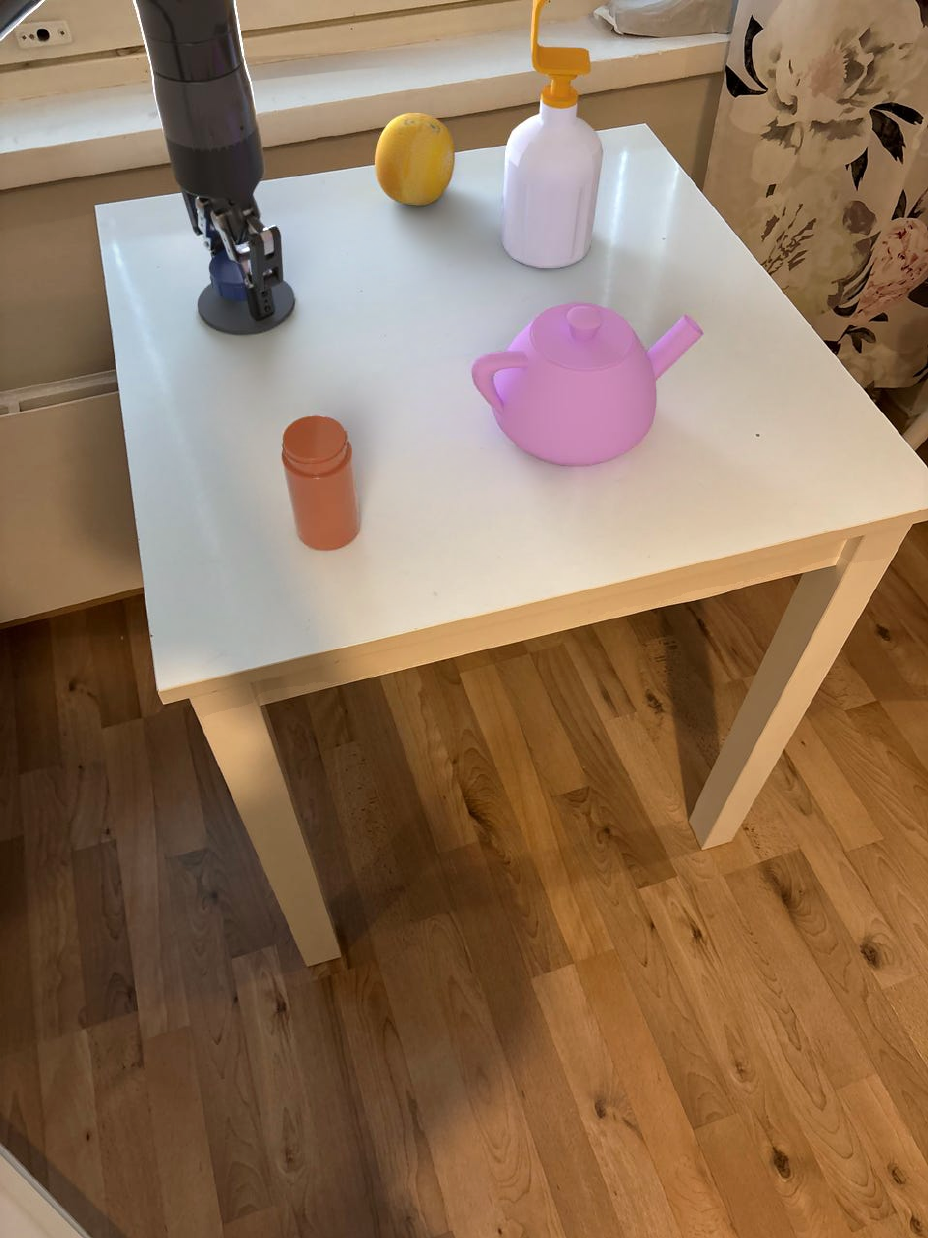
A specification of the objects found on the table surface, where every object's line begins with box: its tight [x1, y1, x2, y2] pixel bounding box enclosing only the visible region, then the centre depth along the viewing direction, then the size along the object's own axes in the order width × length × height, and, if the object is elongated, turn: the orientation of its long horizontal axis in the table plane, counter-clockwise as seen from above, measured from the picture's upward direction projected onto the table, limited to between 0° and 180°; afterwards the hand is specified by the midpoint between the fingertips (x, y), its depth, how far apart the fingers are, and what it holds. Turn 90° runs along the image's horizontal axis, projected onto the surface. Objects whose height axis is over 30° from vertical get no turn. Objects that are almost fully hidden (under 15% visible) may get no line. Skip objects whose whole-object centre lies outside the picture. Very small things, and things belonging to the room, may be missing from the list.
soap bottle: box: [500, 0, 604, 269], centre depth 86 cm, size 9×9×25 cm
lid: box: [208, 246, 251, 301], centre depth 87 cm, size 6×6×2 cm
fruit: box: [374, 112, 456, 207], centre depth 97 cm, size 9×8×8 cm
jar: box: [281, 414, 361, 552], centre depth 70 cm, size 5×5×10 cm
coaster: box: [197, 279, 296, 336], centre depth 90 cm, size 9×9×1 cm
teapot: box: [470, 302, 705, 467], centre depth 77 cm, size 14×20×11 cm
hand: (246, 298), depth 89 cm, fingers closed on lid, 5 cm apart
